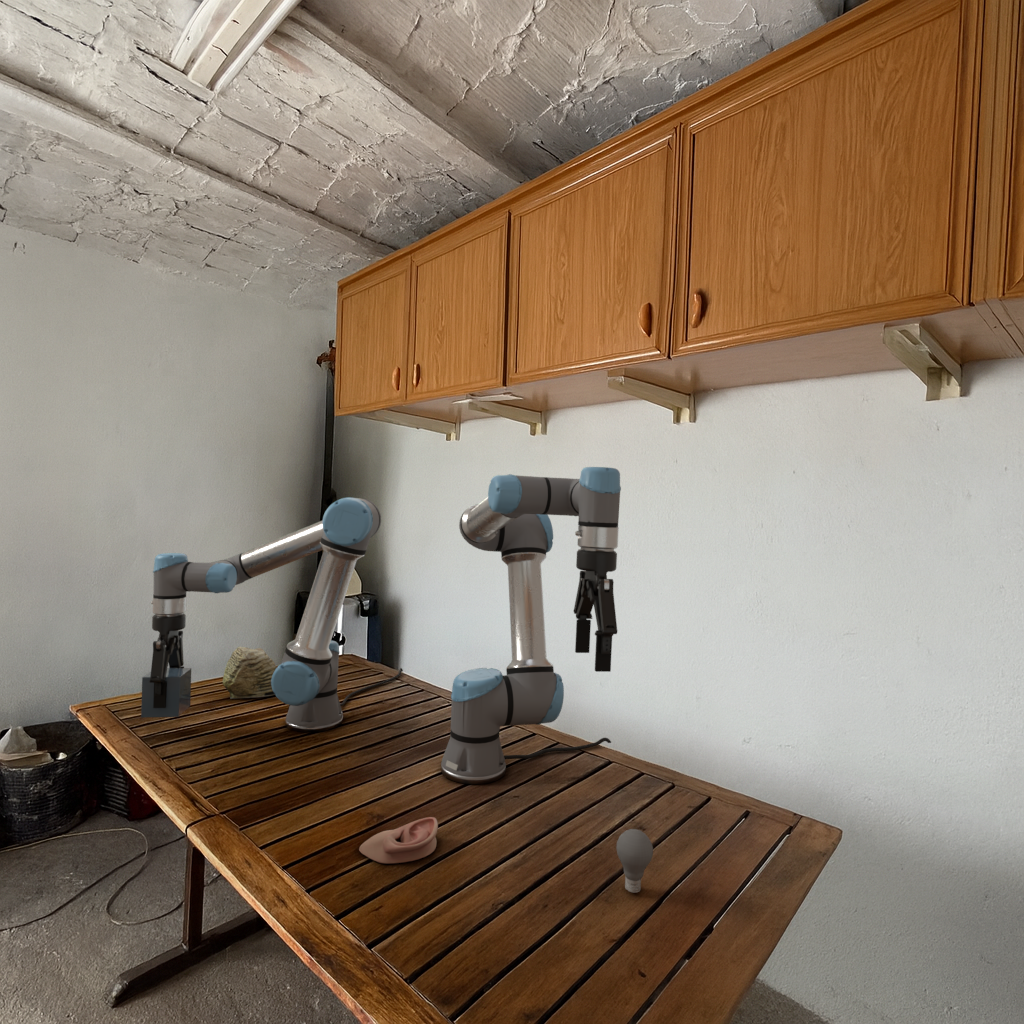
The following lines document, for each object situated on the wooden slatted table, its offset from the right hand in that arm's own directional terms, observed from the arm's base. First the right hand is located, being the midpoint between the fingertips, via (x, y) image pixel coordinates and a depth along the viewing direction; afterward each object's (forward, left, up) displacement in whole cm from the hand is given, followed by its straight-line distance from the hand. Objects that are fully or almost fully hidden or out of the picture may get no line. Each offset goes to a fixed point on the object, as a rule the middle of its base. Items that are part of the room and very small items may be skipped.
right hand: (591, 661), depth 120 cm
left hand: (+71, -86, -26) cm, 114 cm away
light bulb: (+1, +16, -35) cm, 38 cm away
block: (+71, -86, -28) cm, 115 cm away
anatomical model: (+32, -12, -35) cm, 49 cm away
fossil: (+47, -113, -35) cm, 127 cm away
